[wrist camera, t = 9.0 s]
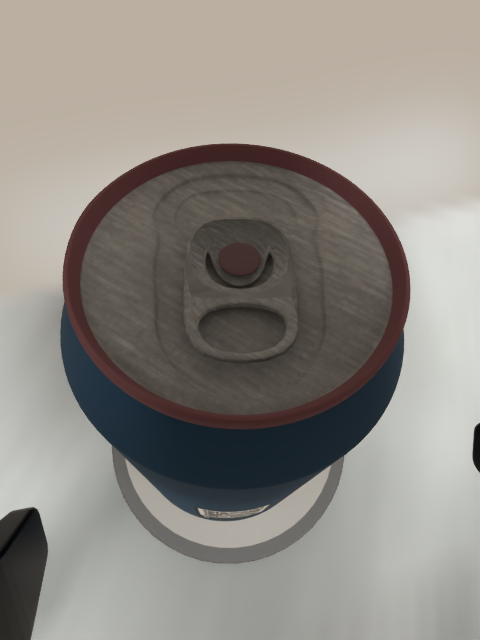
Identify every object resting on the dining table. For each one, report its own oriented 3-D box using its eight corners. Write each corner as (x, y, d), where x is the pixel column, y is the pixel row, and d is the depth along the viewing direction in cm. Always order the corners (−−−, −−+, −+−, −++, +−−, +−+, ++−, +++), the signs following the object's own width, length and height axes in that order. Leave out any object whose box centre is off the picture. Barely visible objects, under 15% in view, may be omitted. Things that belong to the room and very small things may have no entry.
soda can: (150, 359, 18) (64, 118, 8) (296, 357, 19) (394, 126, 9) (136, 527, 15) (-45, 483, 5) (316, 519, 15) (520, 464, 5)
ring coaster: (163, 615, 15) (160, 620, 14) (90, 382, 19) (84, 374, 18) (382, 490, 17) (392, 487, 16) (274, 310, 21) (276, 299, 21)
